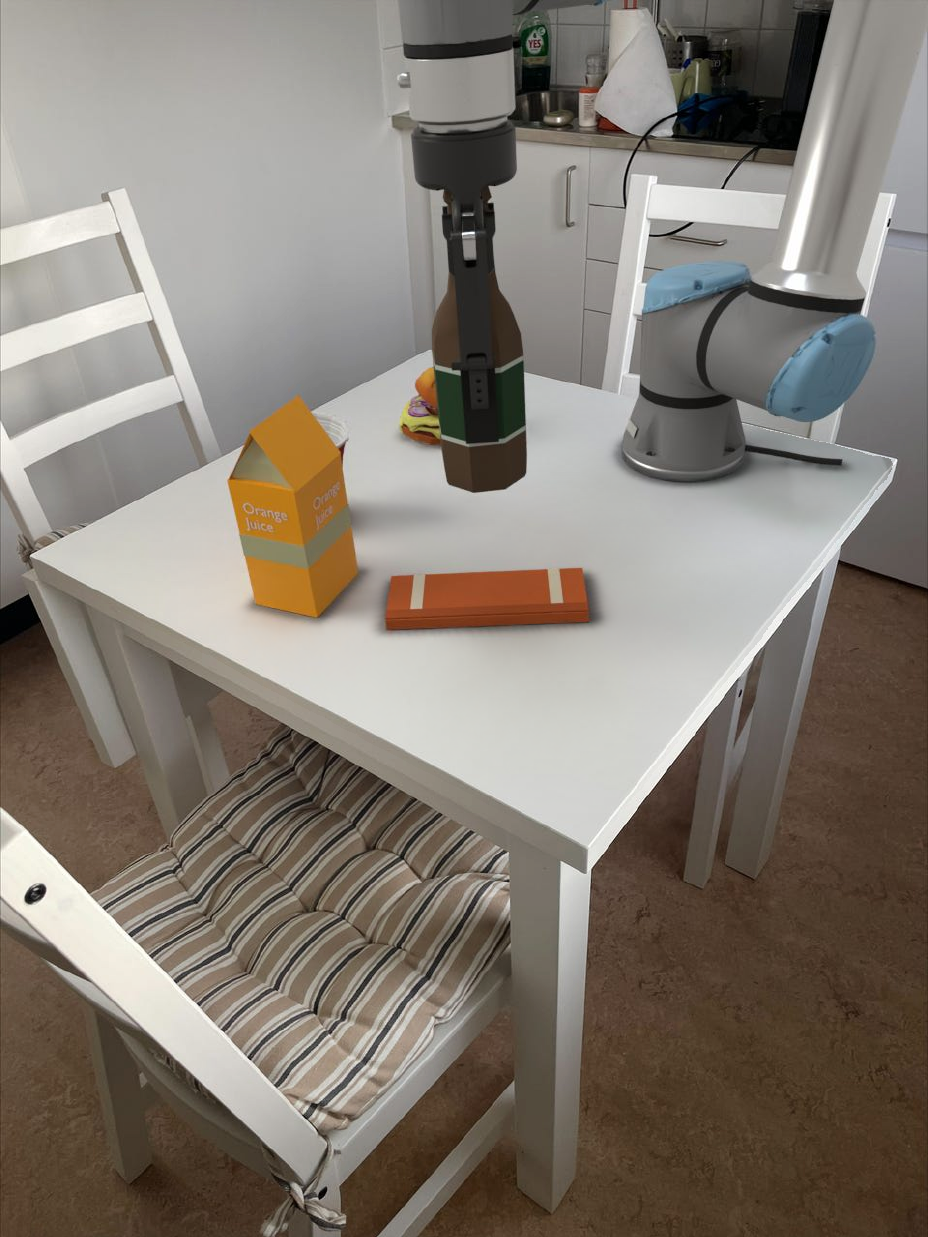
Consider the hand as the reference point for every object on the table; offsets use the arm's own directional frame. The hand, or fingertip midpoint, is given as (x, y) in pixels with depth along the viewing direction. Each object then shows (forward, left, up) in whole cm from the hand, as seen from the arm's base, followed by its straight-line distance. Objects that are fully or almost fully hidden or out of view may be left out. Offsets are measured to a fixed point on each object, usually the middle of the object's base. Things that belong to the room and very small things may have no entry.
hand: (481, 419), depth 81 cm
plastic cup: (+21, -22, -22) cm, 37 cm away
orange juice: (+20, -8, -22) cm, 30 cm away
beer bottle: (0, 0, -5) cm, 5 cm away
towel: (+1, -4, -22) cm, 22 cm away
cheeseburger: (+7, -45, -22) cm, 50 cm away
